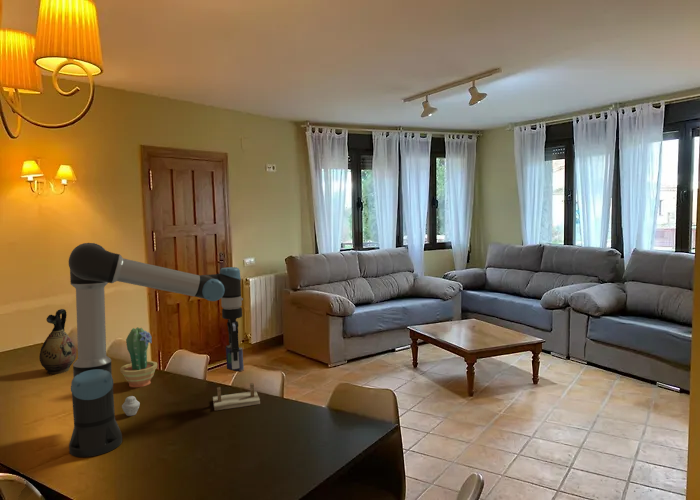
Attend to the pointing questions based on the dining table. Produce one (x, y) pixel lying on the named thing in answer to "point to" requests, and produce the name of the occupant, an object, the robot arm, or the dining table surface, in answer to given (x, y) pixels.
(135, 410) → the white rounded jar
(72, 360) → the ceramic jug
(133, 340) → the potted cactus
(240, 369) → the flask
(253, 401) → the slice holder
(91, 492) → the dining table surface
